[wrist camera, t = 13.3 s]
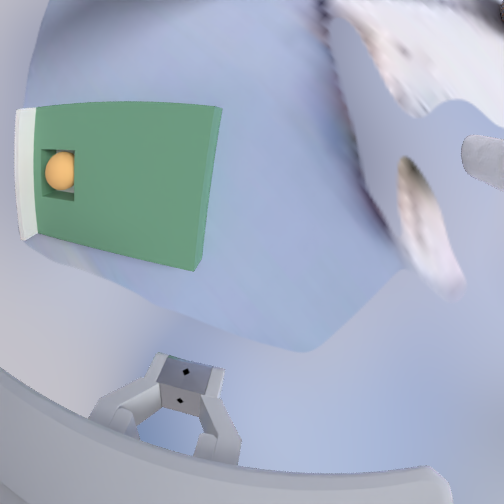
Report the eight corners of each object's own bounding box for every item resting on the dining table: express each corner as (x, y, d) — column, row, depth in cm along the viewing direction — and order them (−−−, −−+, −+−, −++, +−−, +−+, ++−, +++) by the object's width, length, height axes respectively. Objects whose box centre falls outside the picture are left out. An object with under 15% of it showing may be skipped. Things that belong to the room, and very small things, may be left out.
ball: (39, 152, 26) (72, 139, 30) (43, 180, 30) (73, 166, 33) (50, 176, 26) (86, 160, 29) (54, 204, 30) (86, 188, 33)
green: (48, 106, 29) (16, 109, 23) (222, 108, 28) (206, 104, 22) (48, 223, 36) (20, 239, 30) (201, 258, 36) (185, 285, 30)
